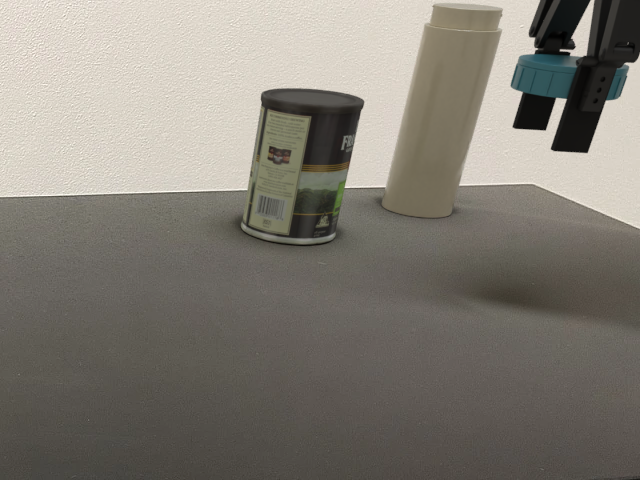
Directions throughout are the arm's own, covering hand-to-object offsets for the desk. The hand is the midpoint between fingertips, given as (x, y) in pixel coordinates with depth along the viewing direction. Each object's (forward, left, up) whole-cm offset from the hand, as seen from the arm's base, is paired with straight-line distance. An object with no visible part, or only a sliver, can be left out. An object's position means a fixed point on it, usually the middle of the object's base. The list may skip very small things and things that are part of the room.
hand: (548, 139), depth 83 cm
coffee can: (+22, -10, -14) cm, 28 cm away
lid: (0, 0, +6) cm, 6 cm away
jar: (+10, -28, -14) cm, 33 cm away
